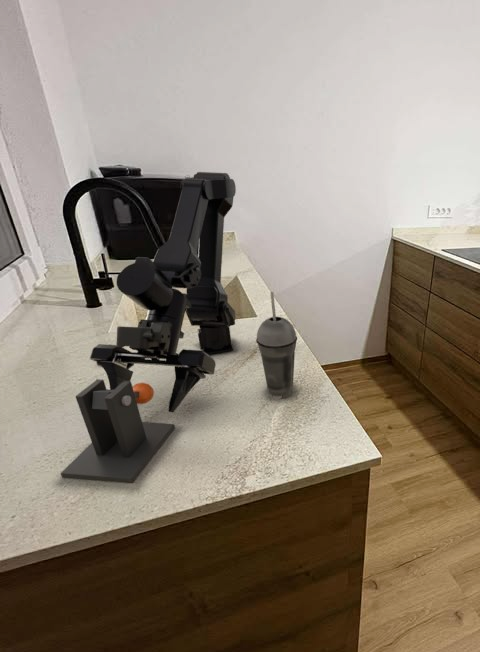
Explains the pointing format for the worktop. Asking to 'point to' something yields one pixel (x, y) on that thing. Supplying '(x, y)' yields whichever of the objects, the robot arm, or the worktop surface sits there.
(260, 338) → the beverage cup
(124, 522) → the worktop surface
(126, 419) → the switch bracket
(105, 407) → the lever
